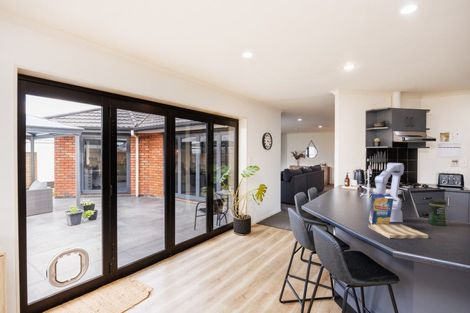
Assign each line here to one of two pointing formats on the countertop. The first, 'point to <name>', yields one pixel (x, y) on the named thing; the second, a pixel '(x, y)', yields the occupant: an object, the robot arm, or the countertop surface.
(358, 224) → the countertop surface
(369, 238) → the countertop surface
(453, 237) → the countertop surface
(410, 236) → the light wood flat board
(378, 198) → the beverage box
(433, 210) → the coffee jar
